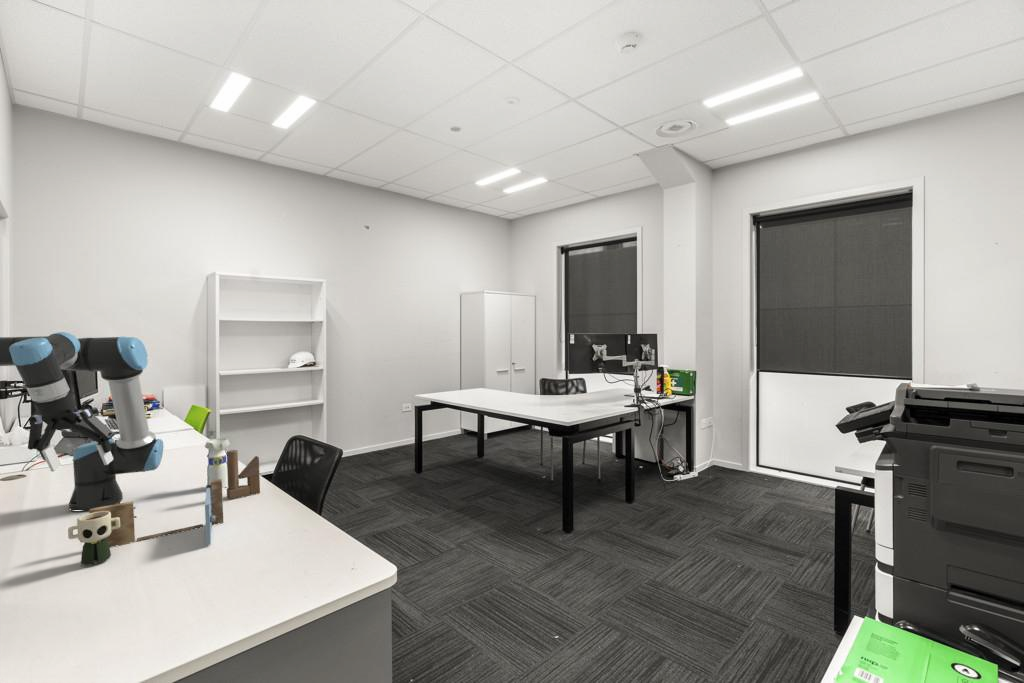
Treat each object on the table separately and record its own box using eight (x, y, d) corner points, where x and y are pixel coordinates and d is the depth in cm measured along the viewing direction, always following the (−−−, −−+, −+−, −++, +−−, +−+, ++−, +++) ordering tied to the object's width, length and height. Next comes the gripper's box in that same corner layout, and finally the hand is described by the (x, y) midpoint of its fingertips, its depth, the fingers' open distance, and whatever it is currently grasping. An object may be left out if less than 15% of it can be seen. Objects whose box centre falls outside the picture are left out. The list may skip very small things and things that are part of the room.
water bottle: (232, 488, 195) (229, 426, 194) (207, 492, 190) (204, 429, 189) (230, 482, 202) (228, 423, 201) (206, 486, 197) (203, 426, 196)
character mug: (69, 573, 128) (66, 525, 127) (70, 563, 133) (68, 517, 133) (121, 560, 135) (119, 514, 134) (121, 551, 140) (119, 507, 140)
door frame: (91, 551, 140) (88, 504, 140) (92, 548, 142) (89, 501, 142) (223, 522, 160) (221, 480, 159) (222, 520, 162) (221, 479, 161)
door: (208, 524, 157) (206, 488, 157) (216, 523, 158) (215, 487, 158) (206, 545, 142) (204, 505, 142) (216, 543, 143) (214, 503, 143)
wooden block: (260, 493, 188) (258, 447, 188) (229, 500, 181) (227, 452, 180) (257, 490, 191) (255, 445, 190) (226, 497, 184) (225, 451, 183)
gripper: (-13, 409, 121) (23, 479, 129) (93, 397, 123) (122, 467, 131) (12, 395, 128) (45, 463, 136) (112, 385, 130) (138, 452, 138)
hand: (83, 465), depth 133 cm, fingers open, 13 cm apart
